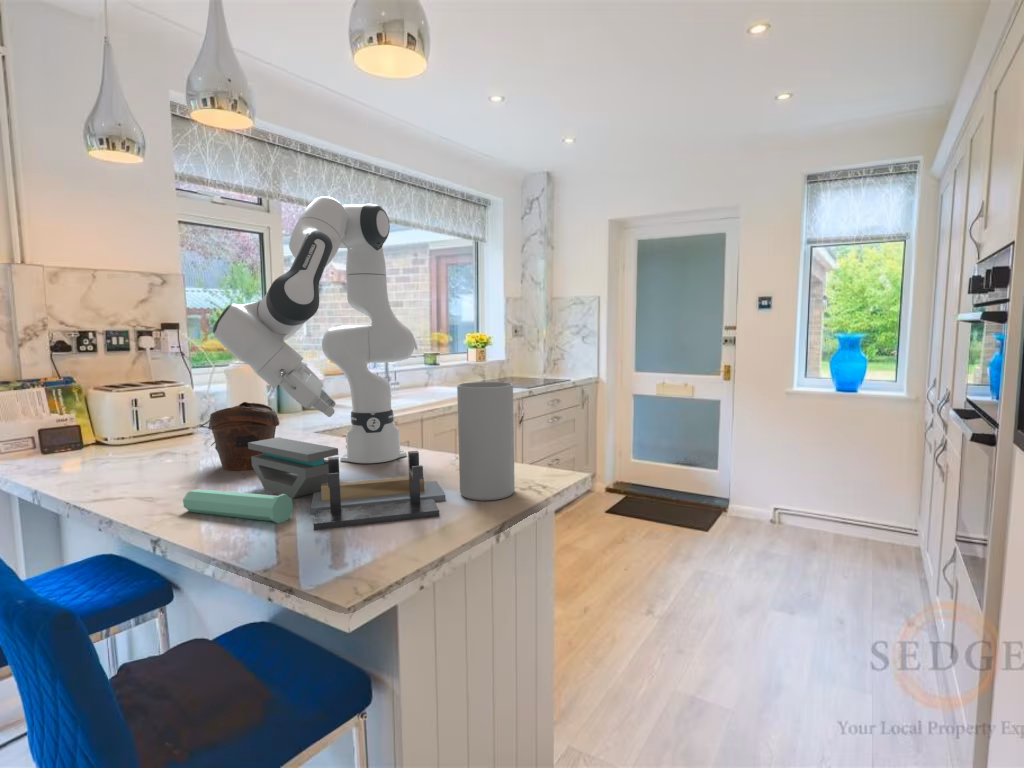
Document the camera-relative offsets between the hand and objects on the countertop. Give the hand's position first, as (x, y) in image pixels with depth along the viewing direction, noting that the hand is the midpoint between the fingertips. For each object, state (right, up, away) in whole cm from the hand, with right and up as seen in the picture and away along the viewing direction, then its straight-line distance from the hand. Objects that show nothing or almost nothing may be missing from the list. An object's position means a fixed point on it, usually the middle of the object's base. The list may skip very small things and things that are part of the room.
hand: (333, 410), depth 125 cm
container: (-18, -22, -8) cm, 29 cm away
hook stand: (+12, -21, -11) cm, 27 cm away
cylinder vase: (+34, -19, +4) cm, 39 cm away
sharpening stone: (-12, -20, +9) cm, 25 cm away
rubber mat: (+10, -20, +1) cm, 22 cm away
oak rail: (+9, -19, +1) cm, 21 cm away
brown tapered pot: (-36, -17, +36) cm, 53 cm away
